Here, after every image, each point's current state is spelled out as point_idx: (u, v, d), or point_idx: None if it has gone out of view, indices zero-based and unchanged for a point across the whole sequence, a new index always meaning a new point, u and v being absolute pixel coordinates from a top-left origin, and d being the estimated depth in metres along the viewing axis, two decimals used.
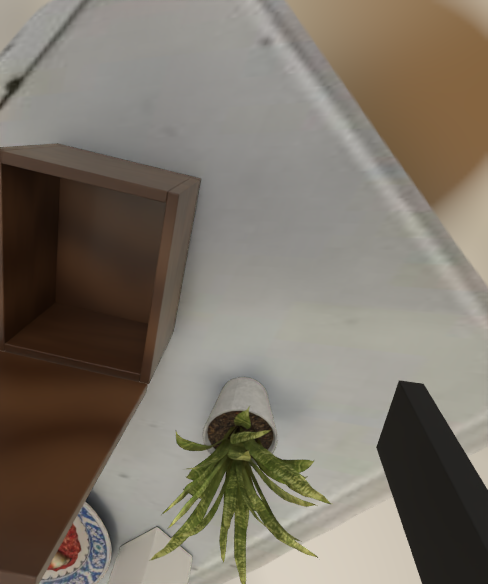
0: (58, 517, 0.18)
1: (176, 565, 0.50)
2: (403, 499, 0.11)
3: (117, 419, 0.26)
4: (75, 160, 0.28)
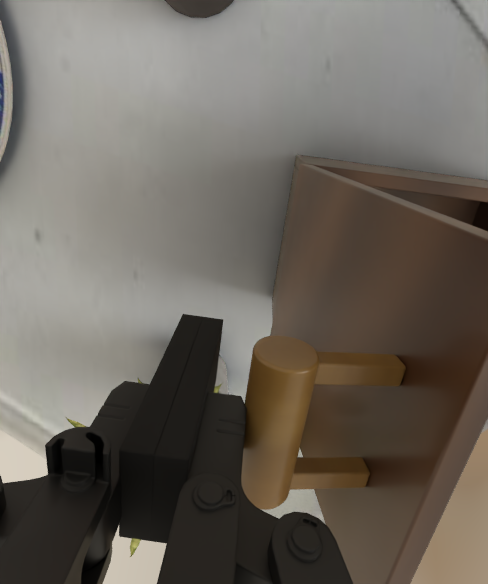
0: None
1: None
2: None
3: None
4: None
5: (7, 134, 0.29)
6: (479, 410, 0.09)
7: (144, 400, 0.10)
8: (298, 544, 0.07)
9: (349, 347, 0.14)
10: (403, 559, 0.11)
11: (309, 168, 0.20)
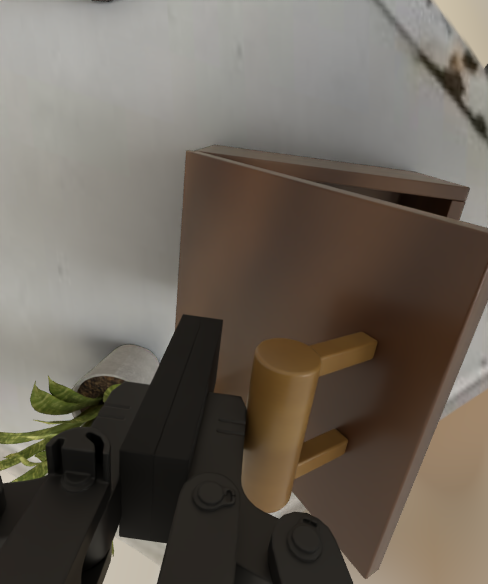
0: None
1: None
2: None
3: None
4: None
5: None
6: (457, 365, 0.10)
7: (144, 400, 0.10)
8: (298, 544, 0.07)
9: (299, 331, 0.15)
10: (398, 503, 0.12)
11: (202, 156, 0.20)
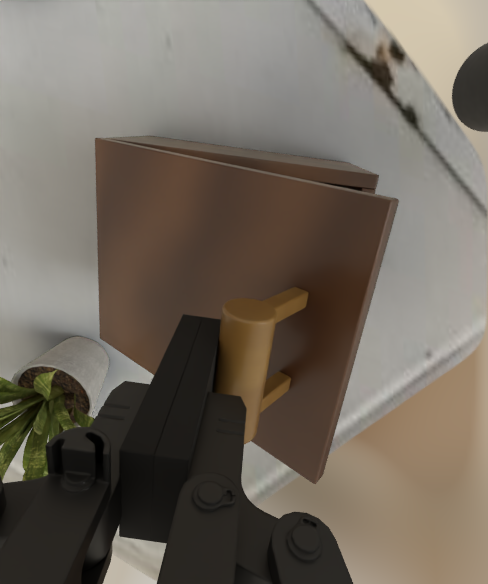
0: None
1: None
2: None
3: None
4: None
5: None
6: (369, 299, 0.14)
7: (144, 400, 0.10)
8: (298, 544, 0.07)
9: (238, 296, 0.17)
10: (335, 415, 0.16)
11: (116, 143, 0.20)
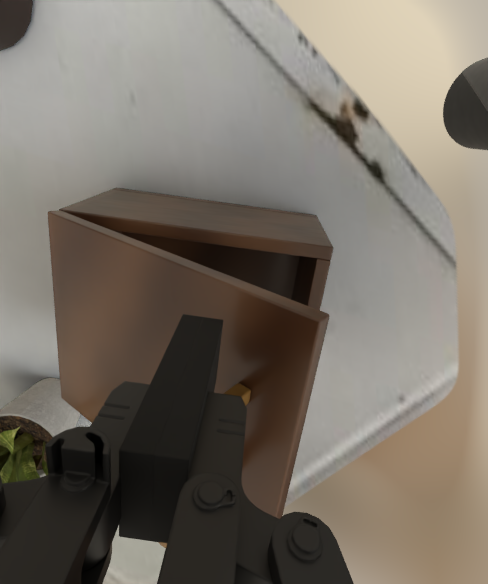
0: None
1: None
2: None
3: None
4: None
5: None
6: (306, 402, 0.15)
7: (144, 400, 0.10)
8: (299, 544, 0.07)
9: None
10: (280, 503, 0.16)
11: (68, 220, 0.20)
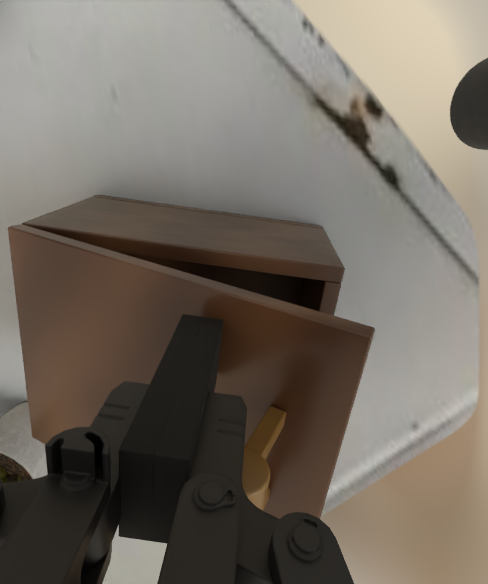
0: None
1: None
2: None
3: None
4: None
5: None
6: None
7: (144, 400, 0.10)
8: (299, 544, 0.07)
9: None
10: None
11: (38, 237, 0.17)
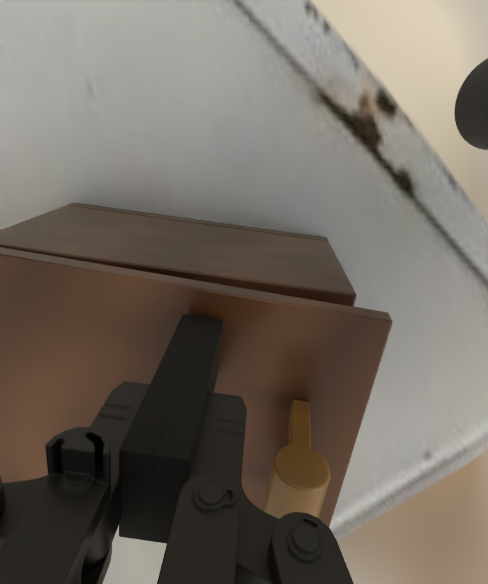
0: None
1: None
2: None
3: None
4: None
5: None
6: None
7: (144, 400, 0.10)
8: (298, 544, 0.07)
9: None
10: (337, 496, 0.17)
11: (3, 256, 0.15)
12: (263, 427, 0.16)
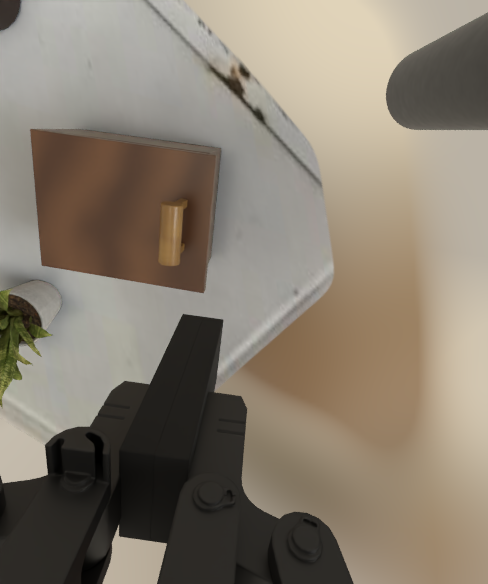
0: None
1: None
2: None
3: None
4: None
5: None
6: (213, 198, 0.34)
7: (144, 400, 0.10)
8: (298, 544, 0.07)
9: (150, 210, 0.35)
10: (207, 255, 0.36)
11: (51, 132, 0.34)
12: None
